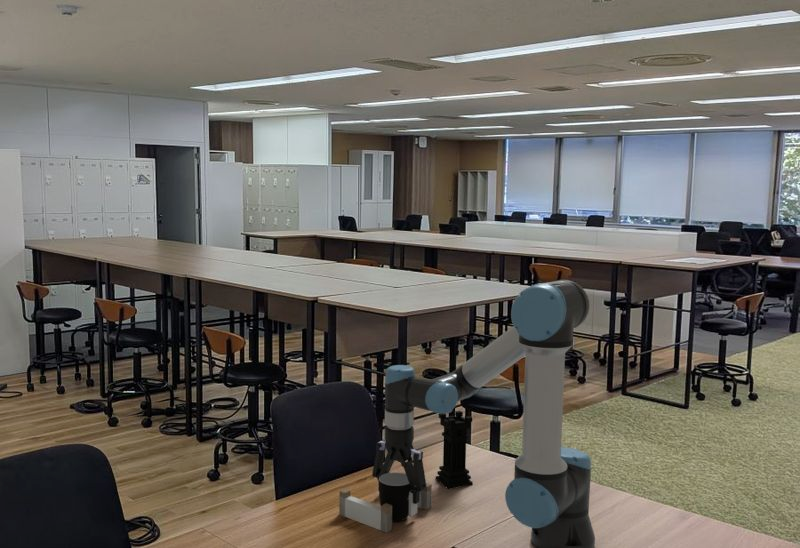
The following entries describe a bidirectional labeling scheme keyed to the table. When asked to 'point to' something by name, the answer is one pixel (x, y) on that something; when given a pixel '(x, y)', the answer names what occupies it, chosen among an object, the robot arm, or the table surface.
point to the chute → (375, 509)
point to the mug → (395, 494)
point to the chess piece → (454, 451)
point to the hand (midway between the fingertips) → (398, 509)
